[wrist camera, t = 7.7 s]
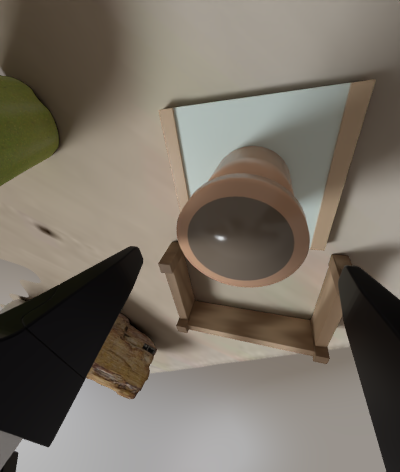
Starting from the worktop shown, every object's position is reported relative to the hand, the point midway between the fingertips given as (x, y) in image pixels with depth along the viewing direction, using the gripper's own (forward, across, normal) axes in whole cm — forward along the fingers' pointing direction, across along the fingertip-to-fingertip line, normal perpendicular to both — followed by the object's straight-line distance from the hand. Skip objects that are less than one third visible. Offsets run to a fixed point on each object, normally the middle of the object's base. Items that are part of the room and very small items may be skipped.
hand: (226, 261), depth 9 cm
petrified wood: (+9, +25, +27) cm, 38 cm away
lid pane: (+9, 0, 0) cm, 9 cm away
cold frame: (+9, 0, +12) cm, 15 cm away
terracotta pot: (+8, 0, 0) cm, 8 cm away
